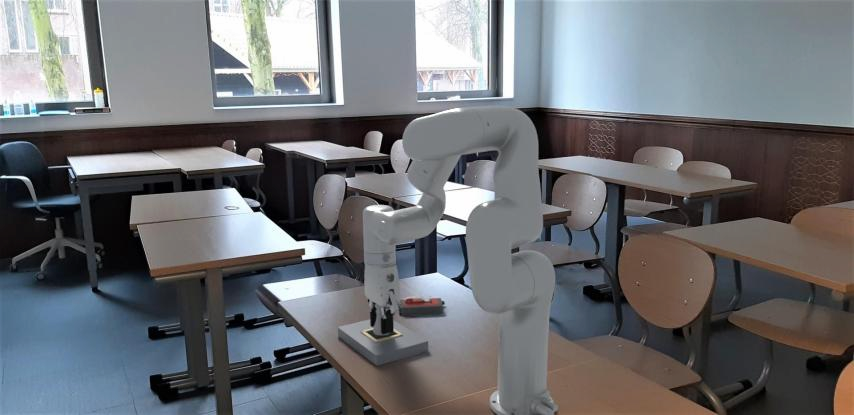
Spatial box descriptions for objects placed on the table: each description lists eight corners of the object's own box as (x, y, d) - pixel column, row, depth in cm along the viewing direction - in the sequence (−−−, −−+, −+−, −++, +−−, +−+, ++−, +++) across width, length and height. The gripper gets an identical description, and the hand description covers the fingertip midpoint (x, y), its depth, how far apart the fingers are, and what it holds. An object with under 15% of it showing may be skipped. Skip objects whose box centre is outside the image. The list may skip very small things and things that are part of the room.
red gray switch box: (443, 304, 184) (374, 306, 182) (443, 289, 183) (373, 292, 181) (447, 315, 175) (374, 318, 174) (447, 300, 174) (373, 303, 173)
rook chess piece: (388, 337, 153) (387, 305, 151) (370, 335, 154) (369, 304, 152) (393, 329, 157) (392, 299, 156) (375, 328, 158) (374, 298, 157)
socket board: (428, 350, 152) (427, 339, 151) (376, 365, 144) (376, 354, 144) (386, 324, 168) (385, 314, 168) (338, 336, 161) (337, 326, 160)
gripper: (412, 262, 147) (413, 337, 150) (376, 247, 161) (378, 315, 164) (383, 268, 143) (385, 344, 146) (349, 251, 157) (352, 321, 160)
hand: (381, 328), depth 155 cm, fingers open, 4 cm apart
